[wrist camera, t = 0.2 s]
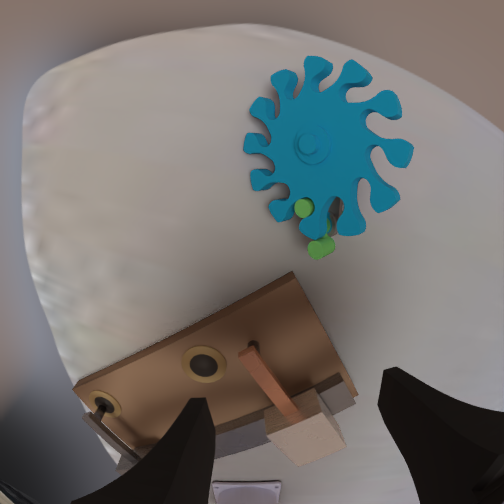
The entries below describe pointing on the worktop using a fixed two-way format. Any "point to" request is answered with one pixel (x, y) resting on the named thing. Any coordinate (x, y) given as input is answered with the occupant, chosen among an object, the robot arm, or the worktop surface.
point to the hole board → (216, 365)
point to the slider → (293, 415)
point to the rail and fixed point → (226, 425)
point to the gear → (325, 151)
